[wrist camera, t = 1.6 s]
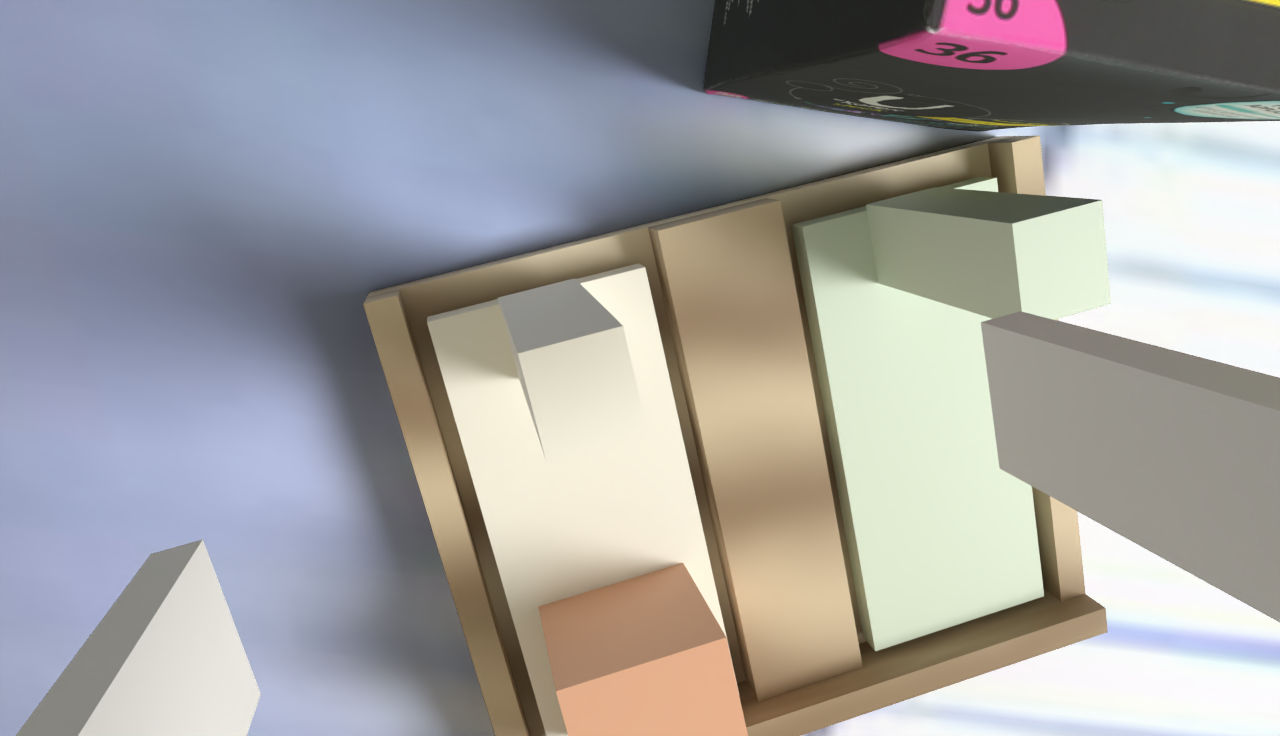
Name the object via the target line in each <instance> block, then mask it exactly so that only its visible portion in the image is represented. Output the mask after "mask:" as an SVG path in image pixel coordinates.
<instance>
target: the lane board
mask: <svg viewBox="0 0 1280 736" xmlns="http://www.w3.org/2000/svg"><path fill="white" fill-rule="evenodd" d="M977 177H994V178H997V183H998V192H1004V193H1017V194H1030V195H1043V196H1046V195H1045V185H1044V175H1043V165H1042V155H1041V145H1040V136H1007V137H994V138H990V139H986V140H982V141H978V142H974V143H970V144H966V145H962V146H958V147H954V148H950V149H946V150H942V151H938V152H934V153H930V154H926V155H922V156H918V157H914V158H910V159H905V160H901V161H897V162H893V163H889V164H885V165H881V166H877V167H873V168H869V169H865V170H861V171H857V172H853V173H849V174H845V175H841V176H837V177H833V178H829V179H825V180H821V181H817V182H813V183H808V184H804V185H800V186H796V187H792V188H788V189H784V190H780V191H776V192H772V193H768V194H764V195H760V196H756V197H752V198H748V199H744V200H740V201H736V202H732V203H728V204H724V205H720V206H716V207H711V208H707V209H703V210H699V211H695V212H691V213H687V214H683V215H679V216H675V217H671V218H667V219H663V220H659V221H655V222H651V223H647V224H643V225H639V226H635V227H631V228H627V229H623V230H618V231H614V232H610V233H606V234H602V235H598V236H594V237H590V238H586V239H582V240H578V241H574V242H570V243H566V244H562V245H558V246H554V247H550V248H546V249H542V250H538V251H534V252H530V253H526V254H521V255H517V256H513V257H509V258H505V259H501V260H497V261H493V262H489V263H485V264H481V265H477V266H473V267H469V268H465V269H461V270H457V271H453V272H449V273H445V274H441V275H437V276H433V277H428V278H424V279H420V280H416V281H412V282H408V283H404V284H400V285H396V286H392V287H388V288H384V289H380V290H376V291H372V292H369V294H368V296H367V298H366V300H365V302H364V303H363V305H364V309H365V312H366V315H367V319H368V322H369V325H370V328H371V332H372V335H373V338H374V341H375V345H376V348H377V351H378V354H379V358H380V361H381V364H382V367H383V371H384V374H385V377H386V381H387V384H388V387H389V390H390V394H391V397H392V400H393V403H394V407H395V410H396V413H397V416H398V420H399V423H400V426H401V429H402V433H403V436H404V439H405V443H406V446H407V449H408V452H409V456H410V459H411V462H412V465H413V469H414V472H415V475H416V478H417V482H418V485H419V488H420V491H421V495H422V498H423V501H424V505H425V508H426V511H427V514H428V518H429V521H430V524H431V527H432V531H433V534H434V537H435V540H436V544H437V547H438V550H439V553H440V557H441V560H442V563H443V567H444V570H445V573H446V576H447V580H448V583H449V586H450V589H451V593H452V596H453V599H454V602H455V606H456V609H457V612H458V615H459V619H460V622H461V625H462V629H463V632H464V635H465V638H466V642H467V645H468V648H469V651H470V655H471V658H472V661H473V664H474V668H475V671H476V674H477V677H478V681H479V684H480V687H481V691H482V694H483V697H484V700H485V704H486V707H487V710H488V713H489V717H490V720H491V723H492V726H493V730H494V733H495V736H546V733H545V729H544V726H543V722H542V719H541V716H540V712H539V709H538V705H537V702H536V698H535V695H534V691H533V688H532V684H531V681H530V677H529V674H528V671H527V667H526V664H525V660H524V657H523V653H522V650H521V646H520V643H519V639H518V636H517V632H516V629H515V626H514V622H513V619H512V615H511V612H510V608H509V605H508V601H507V598H506V594H505V591H504V587H503V584H502V581H501V577H500V574H499V570H498V567H497V563H496V560H495V556H494V553H493V549H492V546H491V543H490V539H489V536H488V532H487V529H486V525H485V522H484V518H483V515H482V511H481V508H480V504H479V501H478V498H477V494H476V491H475V487H474V484H473V480H472V477H471V473H470V470H469V466H468V463H467V459H466V456H465V453H464V449H463V446H462V442H461V439H460V435H459V432H458V428H457V425H456V421H455V418H454V414H453V411H452V408H451V404H450V401H449V397H448V394H447V390H446V387H445V383H444V380H443V376H442V373H441V369H440V366H439V363H438V359H437V356H436V352H435V349H434V345H433V342H432V338H431V335H430V331H429V328H428V324H427V317H428V316H432V315H436V314H440V313H444V312H448V311H452V310H456V309H460V308H464V307H468V306H472V305H476V304H480V303H484V302H488V301H492V300H496V299H498V298H499V297H502V296H506V295H510V294H514V293H518V292H522V291H526V290H530V289H534V288H538V287H542V286H546V285H550V284H554V283H558V282H562V281H566V280H570V279H574V278H575V279H578V278H582V277H586V276H590V275H594V274H598V273H602V272H606V271H610V270H614V269H618V268H622V267H626V266H630V265H634V264H638V263H639V264H641V265H643V266H644V267H645V268H646V273H647V277H648V282H649V286H650V291H651V295H652V300H653V305H654V309H655V314H656V318H657V323H658V327H659V332H660V336H661V341H662V345H663V350H664V355H665V359H666V364H667V368H668V373H669V377H670V382H671V386H672V391H673V395H674V400H675V405H676V409H677V414H678V418H679V423H680V427H681V432H682V436H683V441H684V446H685V450H686V455H687V459H688V464H689V468H690V473H691V477H692V482H693V486H694V491H695V496H696V500H697V505H698V509H699V514H700V518H701V523H702V527H703V532H704V536H705V541H706V546H707V550H708V555H709V559H710V564H711V568H712V573H713V577H714V582H715V587H716V591H717V596H718V600H719V605H720V609H721V614H722V618H723V623H724V627H725V632H726V637H727V641H728V646H729V650H730V655H731V659H732V664H733V668H734V673H735V677H736V682H737V687H738V691H739V697H740V701H741V706H742V710H743V715H744V719H745V724H746V729H747V733H748V736H800V735H803V734H806V733H809V732H812V731H815V730H818V729H821V728H824V727H827V726H830V725H833V724H836V723H839V722H842V721H845V720H848V719H851V718H854V717H857V716H860V715H863V714H866V713H869V712H872V711H875V710H878V709H881V708H884V707H886V706H889V705H892V704H895V703H898V702H901V701H904V700H907V699H910V698H913V697H916V696H919V695H922V694H925V693H928V692H931V691H934V690H937V689H940V688H943V687H946V686H949V685H952V684H955V683H958V682H961V681H964V680H967V679H970V678H973V677H976V676H979V675H981V674H984V673H987V672H990V671H993V670H996V669H999V668H1002V667H1005V666H1008V665H1011V664H1014V663H1017V662H1020V661H1023V660H1026V659H1029V658H1032V657H1035V656H1038V655H1041V654H1044V653H1047V652H1050V651H1053V650H1056V649H1059V648H1062V647H1065V646H1068V645H1071V644H1074V643H1076V642H1079V641H1082V640H1085V639H1088V638H1091V637H1094V636H1097V635H1100V634H1103V633H1106V632H1107V621H1106V610H1105V608H1104V607H1103V606H1101V605H1100V604H1099V603H1097V602H1096V601H1094V600H1093V599H1091V598H1090V597H1089V596H1087V595H1086V594H1085V586H1084V576H1083V566H1082V556H1081V546H1080V536H1079V526H1078V516H1077V511H1076V510H1074V509H1073V508H1071V507H1069V506H1067V505H1065V504H1063V503H1062V502H1060V501H1058V500H1056V499H1054V498H1052V497H1051V496H1049V495H1047V494H1045V493H1043V492H1042V491H1040V490H1038V489H1036V488H1034V487H1032V492H1033V501H1034V510H1035V519H1036V528H1037V537H1038V546H1039V554H1040V563H1041V572H1042V581H1043V590H1044V596H1043V597H1040V598H1037V599H1034V600H1031V601H1028V602H1025V603H1022V604H1019V605H1016V606H1013V607H1010V608H1007V609H1004V610H1001V611H998V612H995V613H991V614H988V615H985V616H982V617H979V618H976V619H973V620H970V621H967V622H964V623H961V624H958V625H955V626H952V627H949V628H946V629H943V630H940V631H936V632H933V633H930V634H927V635H924V636H921V637H918V638H915V639H912V640H909V641H906V642H903V643H900V644H897V645H894V646H891V647H888V648H884V649H881V650H878V651H875V650H874V649H873V648H872V647H871V646H870V645H869V644H868V642H867V641H866V640H865V639H864V638H863V632H862V627H861V621H860V615H859V609H858V604H857V598H856V592H855V587H854V581H853V575H852V569H851V564H850V558H849V552H848V546H847V541H846V535H845V529H844V524H843V518H842V512H841V506H840V501H839V495H838V489H837V483H836V478H835V472H834V466H833V460H832V455H831V449H830V443H829V438H828V432H827V426H826V420H825V415H824V409H823V403H822V397H821V392H820V386H819V380H818V375H817V369H816V363H815V357H814V352H813V346H812V340H811V334H810V329H809V323H808V317H807V312H806V306H805V300H804V294H803V289H802V283H801V277H800V271H799V266H798V260H797V254H796V249H795V243H794V237H793V231H792V226H791V225H792V224H796V223H799V222H803V221H807V220H811V219H815V218H819V217H823V216H827V215H831V214H835V213H839V212H843V211H847V210H851V209H855V208H859V207H863V206H866V204H870V203H874V202H878V201H882V200H886V199H890V198H894V197H897V196H901V195H905V194H909V193H913V192H917V191H921V190H925V189H929V188H933V187H942V186H945V185H949V184H953V183H957V182H961V181H965V180H969V179H973V178H977ZM1055 320H1056V321H1058V319H1055Z"/></svg>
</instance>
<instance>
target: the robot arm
mask: <svg viewBox="0 0 1280 736" xmlns="http://www.w3.org/2000/svg"><path fill="white" fill-rule="evenodd" d="M981 330H982V337H983V345H984V353H985V360H986V368H987V376H988V383H989V391H990V399H991V406H992V414H993V422H994V429H995V437H996V445H997V453H998V460H999V468H1000V469H1001V470H1003V471H1005V472H1007V473H1009V474H1011V475H1012V476H1014V477H1016V478H1018V479H1020V480H1022V481H1023V482H1025V483H1027V484H1029V485H1031V486H1032V487H1034V488H1036V489H1038V490H1040V491H1042V492H1043V493H1045V494H1047V495H1049V496H1051V497H1052V498H1054V499H1056V500H1058V501H1060V502H1062V503H1063V504H1065V505H1067V506H1069V507H1071V508H1073V509H1074V510H1076V511H1078V512H1080V513H1082V514H1083V515H1085V516H1087V517H1089V518H1091V519H1093V520H1094V521H1096V522H1098V523H1100V524H1102V525H1103V526H1105V527H1107V528H1109V529H1111V530H1113V531H1114V532H1116V533H1118V534H1120V535H1122V536H1124V537H1125V538H1127V539H1129V540H1131V541H1133V542H1134V543H1136V544H1138V545H1140V546H1142V547H1144V548H1145V549H1147V550H1149V551H1151V552H1153V553H1154V554H1156V555H1158V556H1160V557H1162V558H1164V559H1165V560H1167V561H1169V562H1171V563H1173V564H1175V565H1176V566H1178V567H1180V568H1182V569H1184V570H1185V571H1187V572H1189V573H1191V574H1193V575H1195V576H1196V577H1198V578H1200V579H1202V580H1204V581H1205V582H1207V583H1209V584H1211V585H1213V586H1215V587H1216V588H1218V589H1220V590H1222V591H1224V592H1226V593H1227V594H1229V595H1231V596H1233V597H1235V598H1236V599H1238V600H1240V601H1242V602H1244V603H1246V604H1247V605H1249V606H1251V607H1253V608H1255V609H1256V610H1258V611H1260V612H1262V613H1264V614H1266V615H1267V616H1269V617H1271V618H1273V619H1275V620H1277V621H1278V622H1280V378H1278V377H1274V376H1270V375H1266V374H1263V373H1259V372H1255V371H1251V370H1247V369H1243V368H1239V367H1235V366H1231V365H1228V364H1224V363H1220V362H1216V361H1212V360H1208V359H1204V358H1200V357H1196V356H1193V355H1189V354H1185V353H1181V352H1177V351H1173V350H1169V349H1165V348H1161V347H1158V346H1154V345H1150V344H1146V343H1142V342H1138V341H1134V340H1130V339H1126V338H1123V337H1119V336H1115V335H1111V334H1107V333H1103V332H1099V331H1095V330H1091V329H1088V328H1084V327H1080V326H1076V325H1072V324H1068V323H1064V322H1060V321H1056V320H1053V319H1049V318H1045V317H1041V316H1037V315H1033V314H1029V313H1025V312H1021V311H1019V312H1016V313H1012V314H1008V315H1005V316H1001V317H998V318H994V319H991V320H987V321H983V322H981ZM260 695H261V693H260V691H259V688H258V685H257V683H256V680H255V677H254V675H253V672H252V669H251V667H250V664H249V661H248V659H247V656H246V653H245V651H244V648H243V645H242V643H241V640H240V637H239V635H238V632H237V629H236V627H235V624H234V621H233V619H232V616H231V614H230V611H229V608H228V606H227V603H226V600H225V598H224V595H223V592H222V590H221V587H220V584H219V582H218V579H217V576H216V574H215V571H214V568H213V566H212V563H211V560H210V558H209V555H208V552H207V550H206V547H205V544H204V542H203V540H200V541H196V542H192V543H189V544H185V545H182V546H178V547H174V548H171V549H167V550H164V551H160V552H157V553H153V554H151V555H150V556H149V557H148V559H147V560H146V561H145V563H144V564H143V565H142V567H141V568H140V569H139V571H138V572H137V573H136V575H135V576H134V577H133V579H132V580H131V581H130V583H129V584H128V585H127V587H126V588H125V589H124V591H123V592H122V594H121V595H120V596H119V598H118V599H117V600H116V602H115V603H114V604H113V606H112V607H111V608H110V610H109V611H108V612H107V614H106V615H105V616H104V618H103V619H102V620H101V622H100V623H99V624H98V626H97V627H96V628H95V630H94V631H93V632H92V634H91V635H90V636H89V638H88V639H87V640H86V642H85V643H84V645H83V646H82V647H81V649H80V650H79V651H78V653H77V654H76V655H75V657H74V658H73V659H72V661H71V662H70V663H69V665H68V666H67V667H66V669H65V670H64V671H63V673H62V674H61V675H60V677H59V678H58V679H57V681H56V682H55V683H54V685H53V686H52V687H51V689H50V690H49V692H48V693H47V694H46V696H45V697H44V698H43V700H42V701H41V702H40V704H39V705H38V706H37V708H36V709H35V710H34V712H33V713H32V714H31V716H30V717H29V718H28V720H27V721H26V722H25V724H24V725H23V726H22V728H21V729H20V730H19V732H18V733H17V734H16V736H247V733H248V730H249V727H250V724H251V722H252V719H253V716H254V713H255V710H256V707H257V704H258V701H259V698H260Z"/></svg>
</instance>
